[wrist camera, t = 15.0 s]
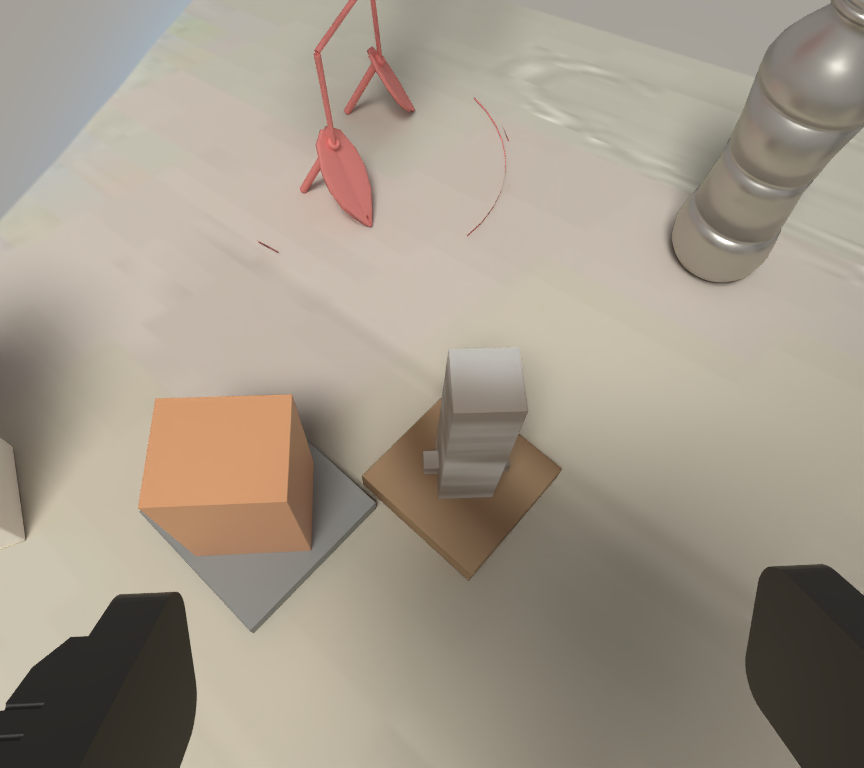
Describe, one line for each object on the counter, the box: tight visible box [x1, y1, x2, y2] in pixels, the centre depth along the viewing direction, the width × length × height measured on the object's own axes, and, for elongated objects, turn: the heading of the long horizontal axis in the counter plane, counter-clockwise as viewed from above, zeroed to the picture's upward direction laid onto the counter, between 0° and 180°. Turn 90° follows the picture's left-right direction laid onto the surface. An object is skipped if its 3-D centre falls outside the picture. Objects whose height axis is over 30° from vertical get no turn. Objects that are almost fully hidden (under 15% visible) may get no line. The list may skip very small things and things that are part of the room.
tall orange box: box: [138, 394, 314, 556], centre depth 31 cm, size 5×6×8 cm
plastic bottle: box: [672, 0, 864, 282], centre depth 37 cm, size 6×7×20 cm
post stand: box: [362, 347, 562, 580], centre depth 32 cm, size 11×11×12 cm
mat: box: [139, 439, 376, 633], centre depth 35 cm, size 9×9×1 cm
